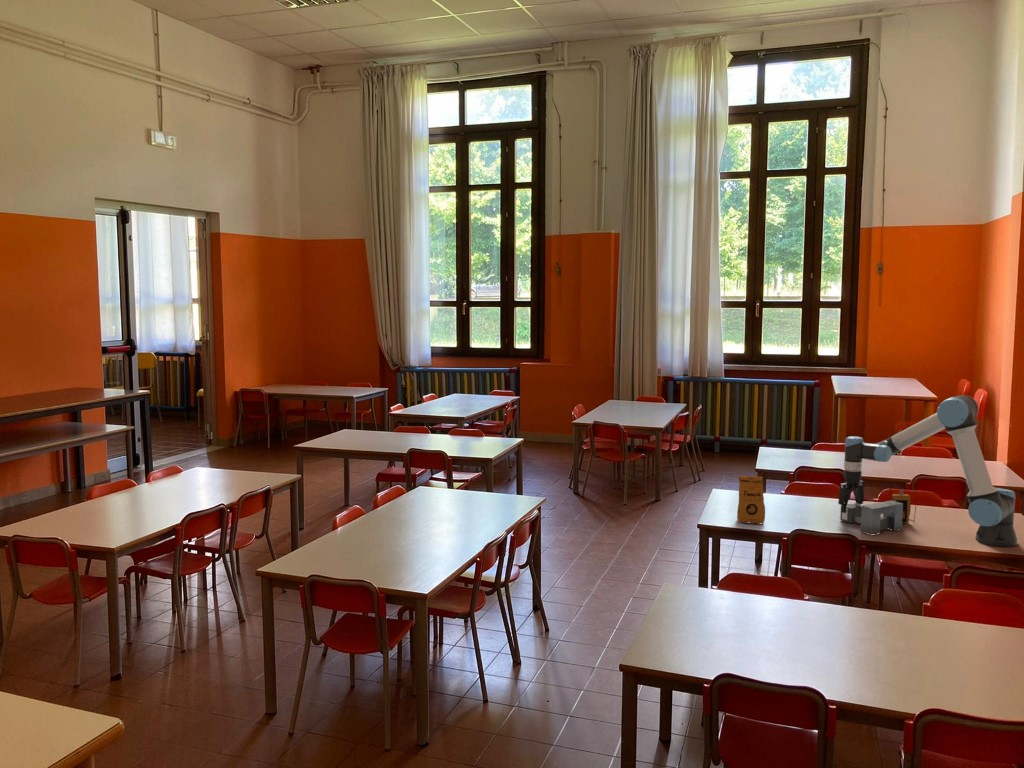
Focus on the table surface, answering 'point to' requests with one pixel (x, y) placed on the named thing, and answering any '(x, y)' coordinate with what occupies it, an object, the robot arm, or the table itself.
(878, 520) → the housing
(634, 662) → the table surface
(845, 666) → the table surface
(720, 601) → the table surface
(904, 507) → the multimeter
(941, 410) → the robot arm
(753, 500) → the coffee package
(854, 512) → the plug
